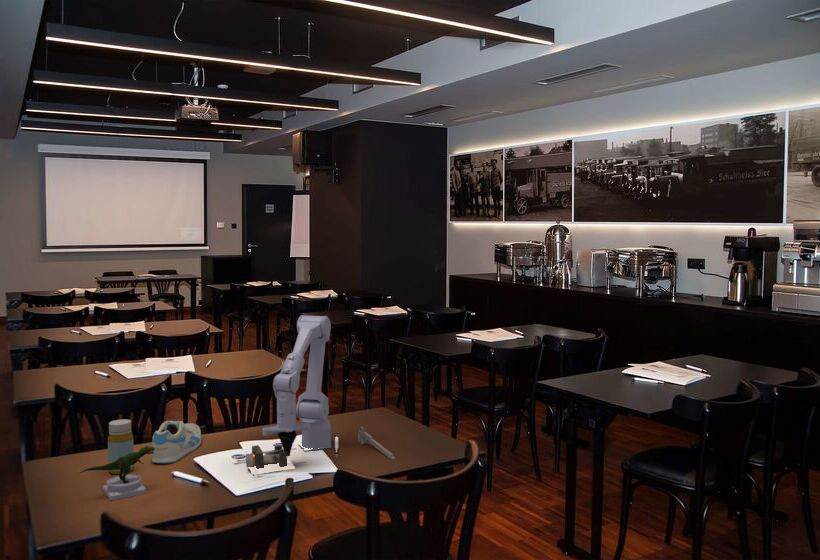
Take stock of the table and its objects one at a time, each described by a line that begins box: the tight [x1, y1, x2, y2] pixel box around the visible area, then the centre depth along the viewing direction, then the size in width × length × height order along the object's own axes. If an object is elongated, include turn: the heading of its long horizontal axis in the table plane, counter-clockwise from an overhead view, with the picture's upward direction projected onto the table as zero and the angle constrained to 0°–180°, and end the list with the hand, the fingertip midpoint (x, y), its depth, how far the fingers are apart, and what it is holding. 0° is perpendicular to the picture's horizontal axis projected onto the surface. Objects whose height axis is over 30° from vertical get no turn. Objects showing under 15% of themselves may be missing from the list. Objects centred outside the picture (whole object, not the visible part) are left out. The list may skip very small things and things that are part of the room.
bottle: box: [107, 418, 135, 475], centre depth 204 cm, size 7×7×15 cm
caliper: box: [357, 426, 396, 460], centre depth 223 cm, size 20×1×6 cm, turn 37°
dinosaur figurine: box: [79, 445, 155, 501], centre depth 187 cm, size 9×20×12 cm, turn 126°
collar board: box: [251, 444, 288, 469], centre depth 207 cm, size 13×9×6 cm
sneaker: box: [151, 420, 202, 464], centre depth 222 cm, size 10×27×11 cm, turn 177°
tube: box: [245, 448, 284, 469], centre depth 206 cm, size 11×4×4 cm, turn 114°
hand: (287, 455), depth 209 cm, fingers closed
